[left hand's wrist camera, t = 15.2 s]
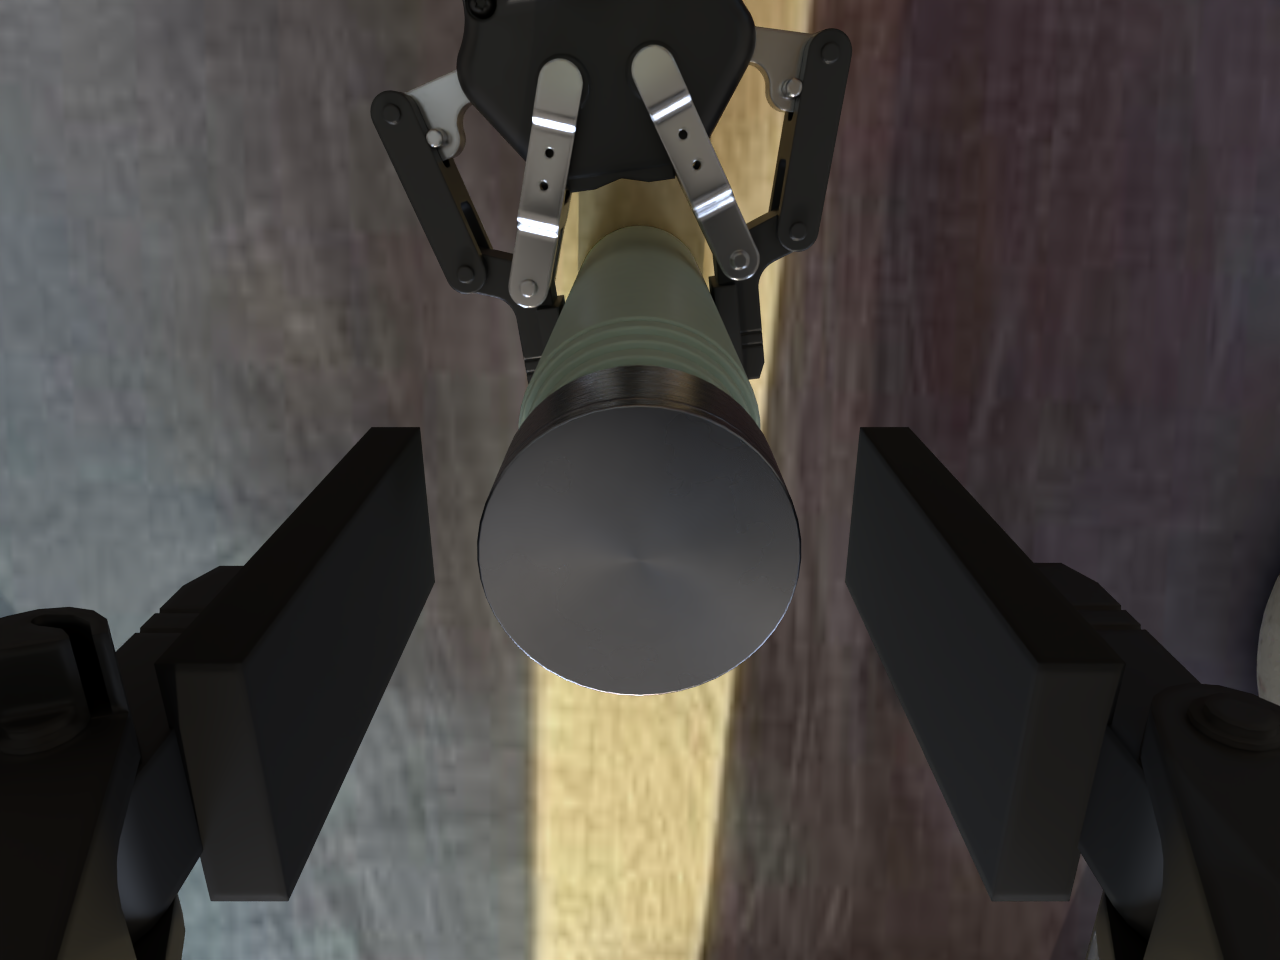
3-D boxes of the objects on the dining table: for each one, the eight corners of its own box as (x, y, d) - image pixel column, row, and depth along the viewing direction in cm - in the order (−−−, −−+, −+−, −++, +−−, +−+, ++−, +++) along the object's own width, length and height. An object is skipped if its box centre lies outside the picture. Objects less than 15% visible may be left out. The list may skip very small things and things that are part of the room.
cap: (665, 304, 13) (670, 334, 11) (832, 522, 14) (864, 586, 12) (441, 476, 14) (408, 534, 12) (616, 666, 15) (613, 746, 13)
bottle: (727, 288, 34) (872, 543, 13) (640, 375, 35) (640, 737, 14) (639, 197, 32) (636, 312, 11) (552, 290, 34) (405, 547, 13)
